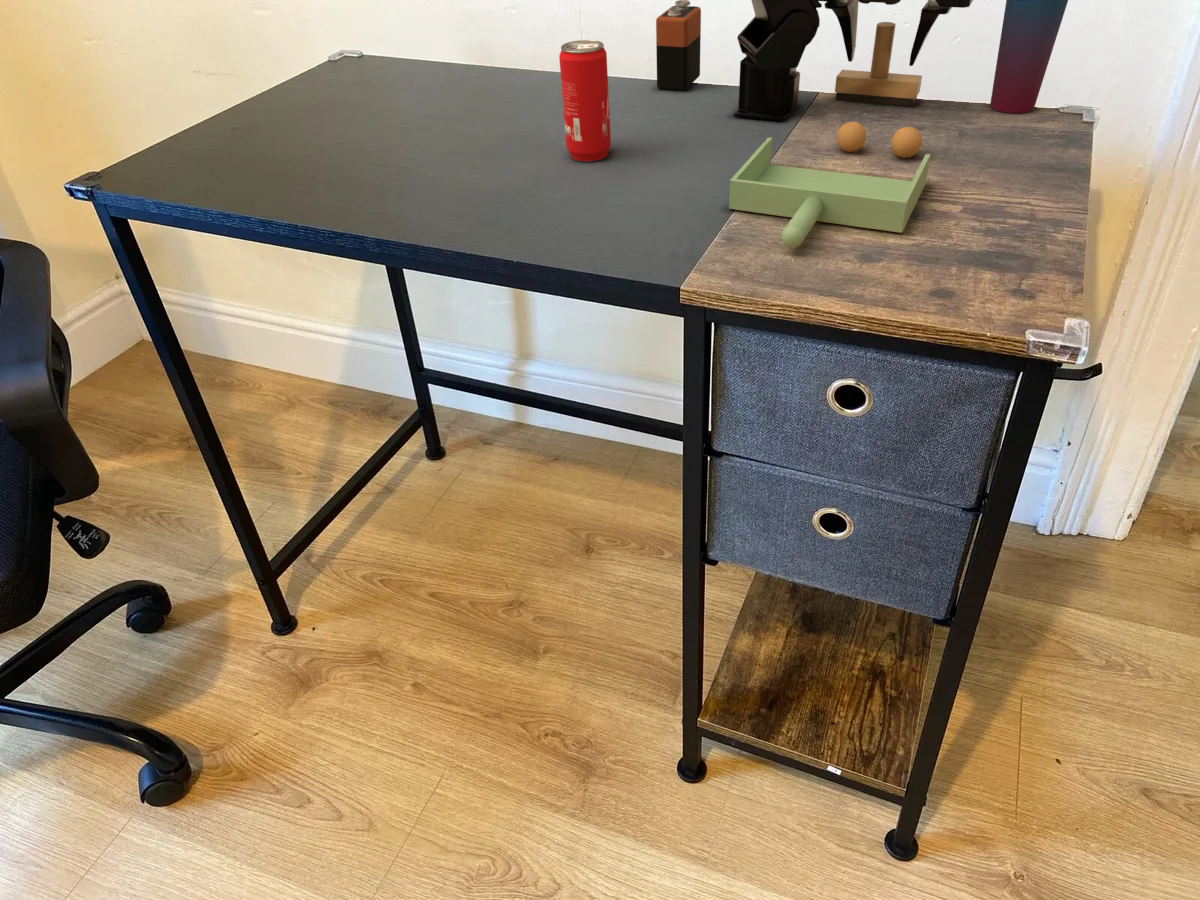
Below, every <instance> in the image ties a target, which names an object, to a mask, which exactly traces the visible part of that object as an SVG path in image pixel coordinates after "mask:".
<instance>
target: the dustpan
mask: <svg viewBox="0 0 1200 900" xmlns="http://www.w3.org/2000/svg"><path fill="white" fill-rule="evenodd" d="M773 139H774V138H773V137H770V136H768V137H767V138H766V139H765V140H764V141H763V143H762V144H761V145H760V146H759V147H758V148H757V149H756V150H755V152H753V154H752V155H751V156H750V157H749V158H748V159H747V160H746V162H745V163H744V164H743V165H742V166H741V167H740V168H739V170H738V171H737V172H736V173H735V174H734V175H733V176H732V178H730V180H729V197H728V209H729V210H736V211H743V212H748V213H749V212H750V213H757V214H763V215H770V216H771V215H772V216H778V217H784V218H785V217H786V218H791V219H790V220H789V222H788V223H787V224H786V226H785V228H784V229H783V230H782V233H781V241H782V243H783V245H784V246H786V247H788V248H790V249H791V248H797V247H799V246H800V245H802V243H803V241H805V238H806V237H807V236H808V234H809V233H810V231H811V230H812V228H813V226H814V225H815V223H816V222H821V223H829V224H835V225H842V226H849V227H857V228H863V229H871V230H872V229H874V230H877V231H878V230H879V231H885V232H894V233H898V234H899V233H900V234H902V233H903V232H904V230H905V228H906V226H907V224H908V222H909V220H910V217H911V215H912V214H913V211H914V209H915V207H916V206H917V203H918V201H919V200H920V197H921V195H922V192H923V190H924V188H925V186H926V183H927V179H928V172H929V165H930V162H931V153H925V155H924V156H923V159H922V161H921V163H920V165H919V167H918V168H917V171H916V172H915V173H914V174H915V175H914V176H913V178H912V180H904V179H897V178H888V177H879V176H873V175H872V176H871V175H863V174H856V173H855V174H853V173H846V172H837V171H829V170H821V169H820V170H819V169H812V168H803V167H795V166H787V165H779V164H772V154H773Z"/></svg>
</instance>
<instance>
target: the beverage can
mask: <svg viewBox="0 0 1200 900" xmlns="http://www.w3.org/2000/svg"><path fill="white" fill-rule="evenodd" d="M607 55H608V54H607V51H606V49H605V43H604V42H602V41H599V40H595V39H580V40H573V41H569V42H565V43H563V44H562V45H560V52H559V55H558V58H559V59H558V60H559V70H560V83H561V85H560V86H561V96H562V109H563V122H564V133H565V145H566V150H567V151H568V153H569V156H570V158H571V159H572V160H574V161H576V162H580V163H592V162H597V161H601V160H603V159H605V158H608V156H609V150H610V148H611V146H612V139H611V135H612V134H611V117H610V99H609V98H610V97H609V75H608V58H607V57H608V56H607Z"/></svg>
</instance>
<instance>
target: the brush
mask: <svg viewBox="0 0 1200 900" xmlns="http://www.w3.org/2000/svg"><path fill="white" fill-rule="evenodd" d="M895 33H896V23H894V22H891V21H881V22H878V23H876V28H875V35H874V42H873V49H872V58H871V65H870V71H866V70H865V71H864V70H853V69H852V70H851V69H841V70H840V72H839V73H838V74H837V75H836V77H835V84H834V86H835V87H834V93H835V94H836V96H835V100H836V101H842V102H843V101H844V102H853V103H864V104H875V105H887V106H888V105H889V106H900V107H911V108H913V106H914V105H915V103H916V102H917V99H918V95H919V94H920V91H921V86H922V80H923V75H919V74H907V73H904V74H903V73H895V72H894V73H893V72H890V66H891V60H892V52H893V45H894V39H895Z"/></svg>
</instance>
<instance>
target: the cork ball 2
mask: <svg viewBox="0 0 1200 900" xmlns="http://www.w3.org/2000/svg"><path fill="white" fill-rule="evenodd" d="M922 145H923V137H922V134H921V132H920V131H919V130H918V129H916V128H915V127H912V126H904V127H901V128H899V129H898V130H897V131H895V133H894V134H893V135H892V138H891V141H890V147H891V150H892V152H893V154H895V155H896V156H897V157H899V158H902V159H908V158H912V157H913V156H915V155H916V154H917V153H918V152H919V151H920V150H921V148H922Z"/></svg>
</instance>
